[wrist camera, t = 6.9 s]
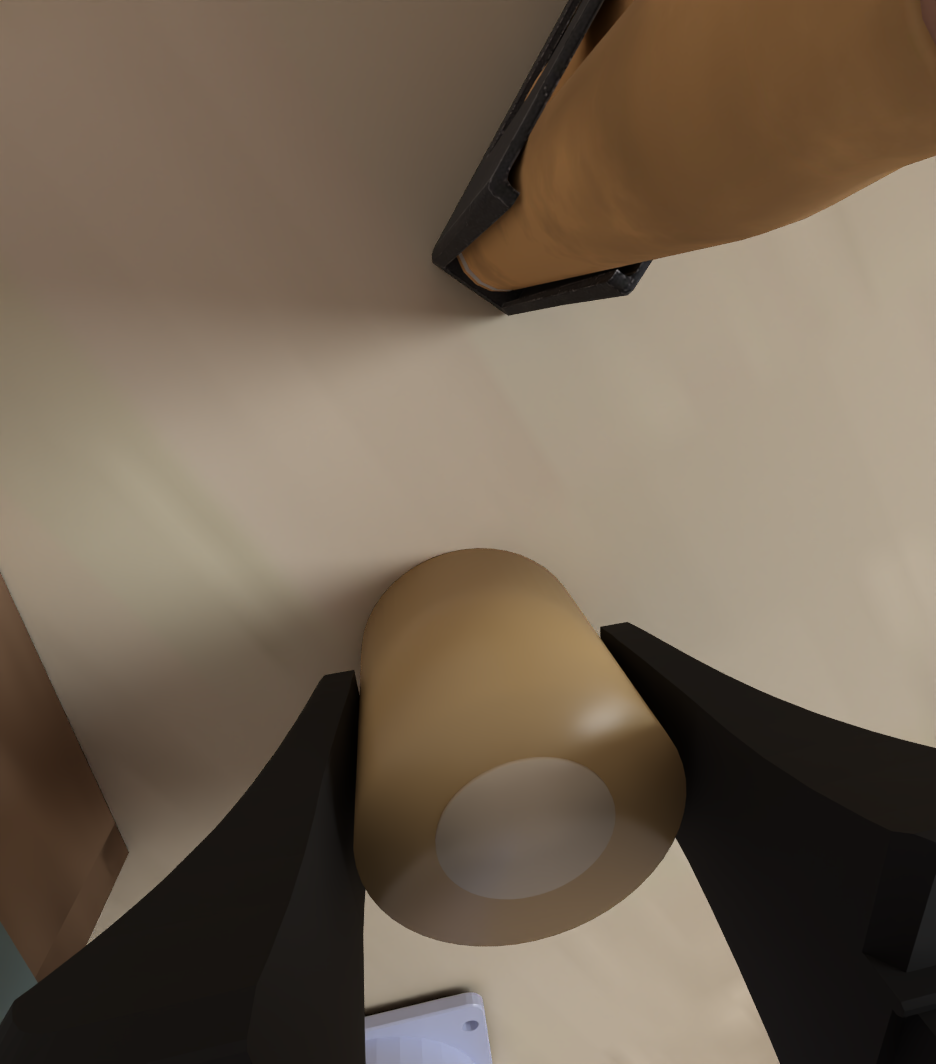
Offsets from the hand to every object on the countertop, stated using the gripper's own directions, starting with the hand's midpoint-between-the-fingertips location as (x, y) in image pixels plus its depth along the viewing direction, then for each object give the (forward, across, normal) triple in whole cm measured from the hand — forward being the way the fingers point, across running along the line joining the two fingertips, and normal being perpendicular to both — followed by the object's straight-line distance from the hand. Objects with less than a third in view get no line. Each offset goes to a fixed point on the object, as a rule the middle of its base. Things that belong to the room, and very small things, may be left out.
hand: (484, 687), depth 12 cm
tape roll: (+1, 0, 0) cm, 1 cm away
